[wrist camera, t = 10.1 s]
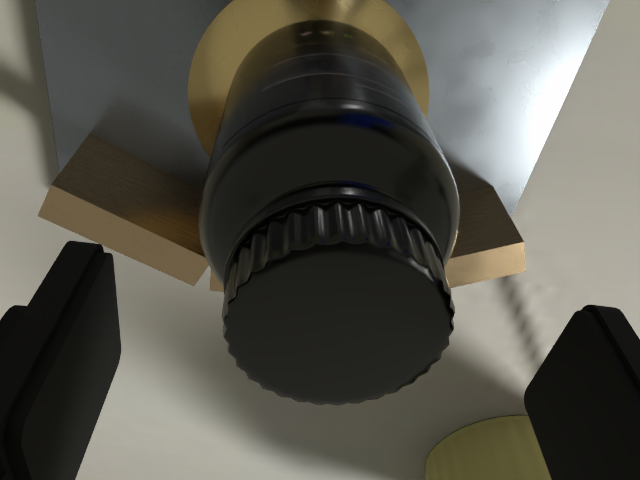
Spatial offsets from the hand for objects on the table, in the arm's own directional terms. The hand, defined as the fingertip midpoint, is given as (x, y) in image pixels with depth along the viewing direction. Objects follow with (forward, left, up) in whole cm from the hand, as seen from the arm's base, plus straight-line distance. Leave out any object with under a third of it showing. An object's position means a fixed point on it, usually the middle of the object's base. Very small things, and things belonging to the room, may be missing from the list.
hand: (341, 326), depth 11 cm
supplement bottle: (0, 0, -12) cm, 12 cm away
